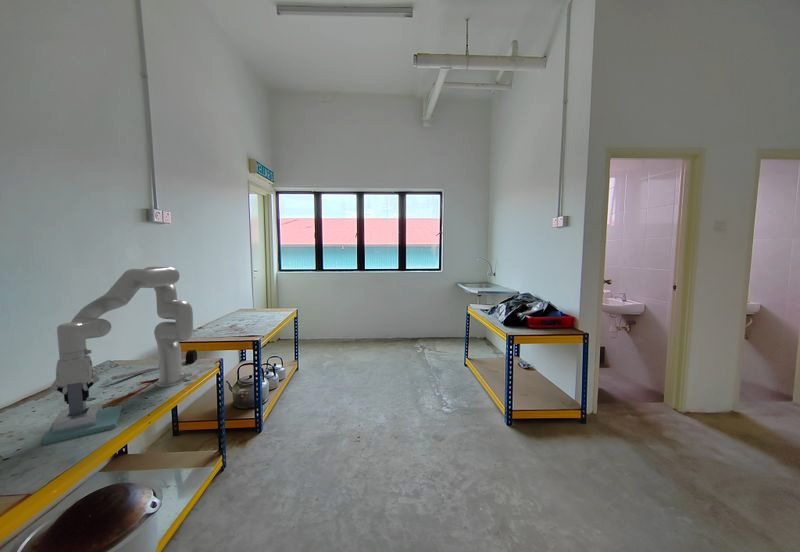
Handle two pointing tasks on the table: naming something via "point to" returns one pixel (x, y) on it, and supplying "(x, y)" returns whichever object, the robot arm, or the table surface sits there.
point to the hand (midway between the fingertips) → (77, 400)
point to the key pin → (75, 398)
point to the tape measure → (191, 356)
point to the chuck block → (82, 422)
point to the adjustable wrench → (134, 372)
